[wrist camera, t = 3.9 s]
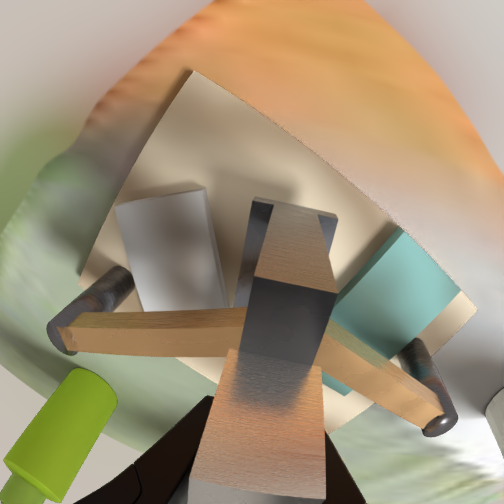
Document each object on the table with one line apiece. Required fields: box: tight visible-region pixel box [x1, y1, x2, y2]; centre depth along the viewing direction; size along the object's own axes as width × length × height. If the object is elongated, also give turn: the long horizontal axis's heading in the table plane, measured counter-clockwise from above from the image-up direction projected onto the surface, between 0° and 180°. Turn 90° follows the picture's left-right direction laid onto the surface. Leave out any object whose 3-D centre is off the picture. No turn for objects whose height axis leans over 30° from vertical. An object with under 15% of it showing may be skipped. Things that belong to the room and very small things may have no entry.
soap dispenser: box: [0, 368, 117, 504], centre depth 18 cm, size 6×7×20 cm
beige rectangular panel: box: [78, 70, 478, 434], centre depth 20 cm, size 17×24×2 cm
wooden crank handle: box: [46, 266, 458, 437], centre depth 16 cm, size 6×23×7 cm, turn 78°
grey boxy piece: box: [188, 196, 338, 504], centre depth 11 cm, size 4×8×12 cm, turn 170°
